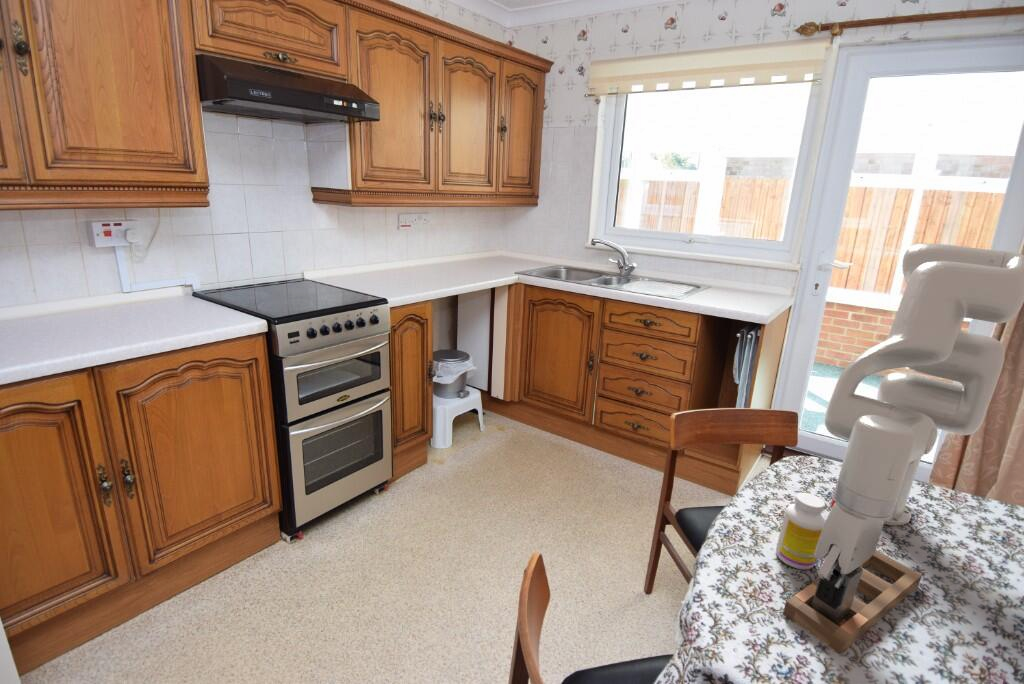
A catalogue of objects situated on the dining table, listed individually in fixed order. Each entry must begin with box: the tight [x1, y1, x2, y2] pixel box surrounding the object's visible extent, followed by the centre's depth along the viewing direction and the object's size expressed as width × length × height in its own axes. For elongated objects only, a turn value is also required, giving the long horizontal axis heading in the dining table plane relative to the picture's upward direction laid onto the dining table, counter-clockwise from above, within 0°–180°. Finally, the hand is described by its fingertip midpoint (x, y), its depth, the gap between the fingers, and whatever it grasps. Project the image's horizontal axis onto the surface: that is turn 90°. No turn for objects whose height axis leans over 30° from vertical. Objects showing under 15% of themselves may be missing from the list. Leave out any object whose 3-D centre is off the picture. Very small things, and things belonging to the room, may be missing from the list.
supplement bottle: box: [775, 492, 827, 570], centre depth 98 cm, size 7×7×13 cm
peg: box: [811, 562, 863, 625], centre depth 84 cm, size 4×4×9 cm
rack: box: [782, 550, 923, 655], centre depth 91 cm, size 28×9×3 cm, turn 124°
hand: (834, 595), depth 85 cm, fingers closed on peg, 4 cm apart
